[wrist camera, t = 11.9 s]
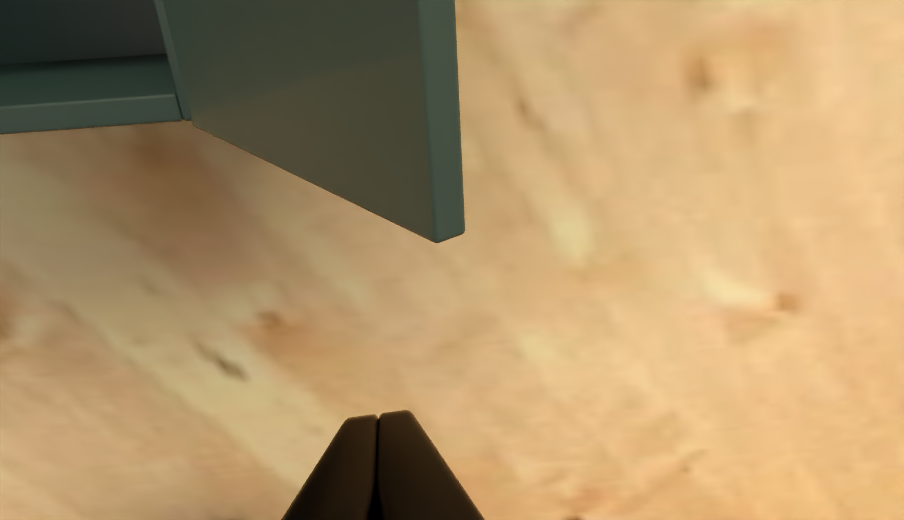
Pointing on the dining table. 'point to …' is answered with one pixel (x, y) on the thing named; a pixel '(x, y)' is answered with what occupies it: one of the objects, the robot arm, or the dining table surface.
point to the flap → (335, 96)
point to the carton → (87, 65)
